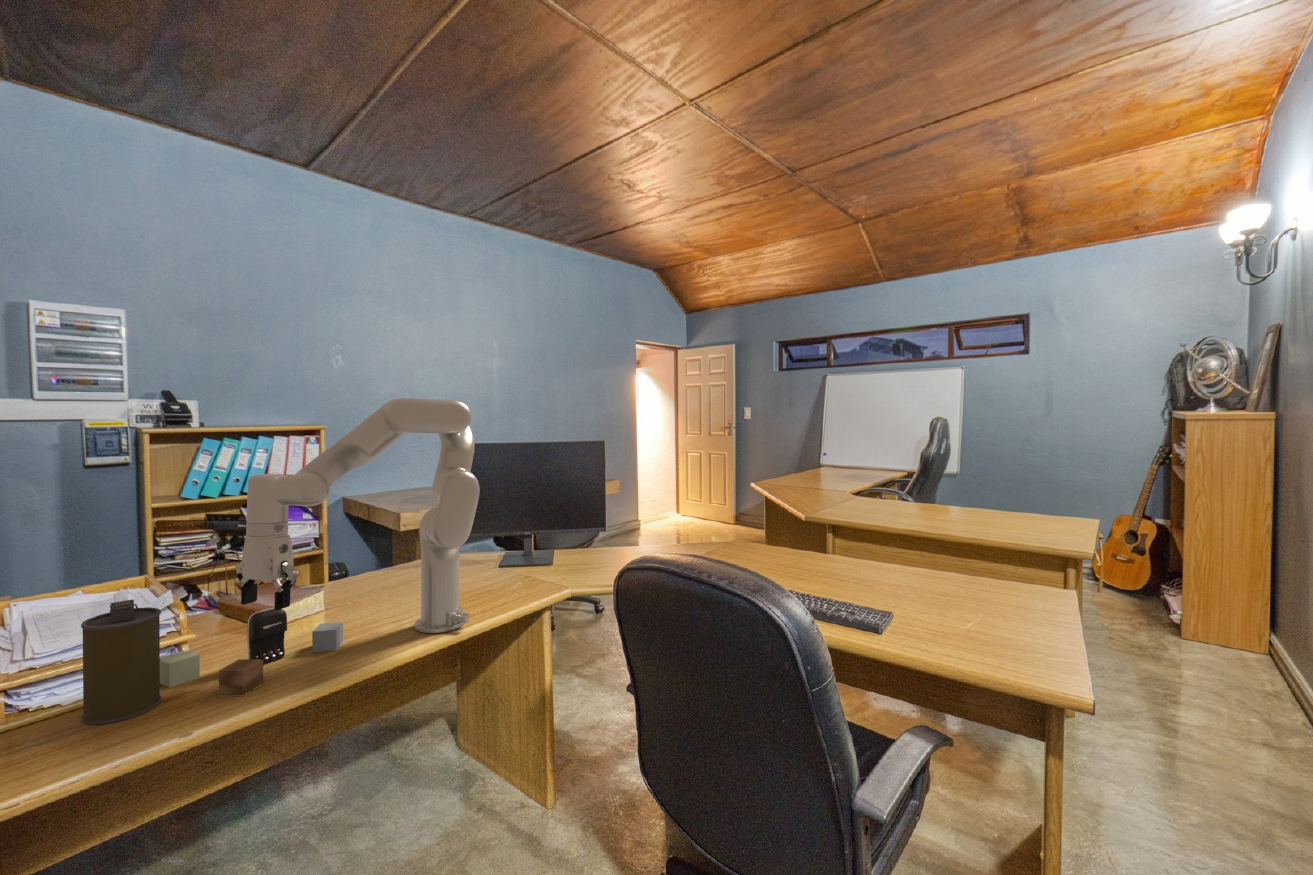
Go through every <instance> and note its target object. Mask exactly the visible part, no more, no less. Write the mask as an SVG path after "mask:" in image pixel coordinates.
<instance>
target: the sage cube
mask: <svg viewBox="0 0 1313 875" xmlns="http://www.w3.org/2000/svg"><path fill="white" fill-rule="evenodd" d="M187 650H188V652H187V651H186V652H184V650H181V651H179V652H178V651H177V652H174V653H171V654H167V655H165V656H162V657H160V685H162V686H165V687H167V688H169V689H171V688H173V687H176V686H178V685H179V686H180V685H181V684H182V685H183V684H185V683H188V682H191V681H194V680H196V679H199V678H201V677H200V675H201V674H200V672H201V671H200V668H201V667H200V665H201V664H200V661H201V660H200V653H197V652H195V651H192V650H190V649H187Z"/></svg>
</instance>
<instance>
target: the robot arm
mask: <svg viewBox="0 0 1313 875" xmlns="http://www.w3.org/2000/svg"><path fill="white" fill-rule="evenodd" d="M472 416H473V415H472V412H471V410H470V408H469V406H468V405H466V404H465V403H464V402H463V401H459V400H455V399H428V398H427V399H426V398H414V397H413V398H412V397H401V398H399V397H398V398H393V399H391V400H389V401H387V402H385V404H383V405H382V406H381V407H379V408H378V409H377V410H376V411H374V412H373V413H372V414H370V415H369V416H368V417H367V418H366V419H364V420H363V421H362V422H360V423H359V424H358V425H357V426H355V427H354V428H353V429H351V430H350V431H349V432H347V433H346V434H345V435H343V436H342V437H341V438H340V439H338V440H337V441H336V442H334V444H332V445H331V446H330V447H327V449H325V450H324V451H322V453H320V454H319V455H317V456H316V457H315V458H313V459H312V460H311V461H309V462H308V463H307V464H306V465H305V466H303V467H302V468H301V469H299V470H298V471H297V472H296V473H295V474H294V475H286V474H282V473H258V474H254V475H251V476H250V477H249V479H248V480H247V493H246V494H247V495H246V501H247V502H246V525H245V526H246V528H245V529H246V534H245V538H244V539H245V540H244V544H243V549H242V558H241V561H240V562H238V563H237V564H234V570H235V571H236V574H237V575H236V577H237V579H238V581H239V587H241V590H240V592H241V593H240V595H241V596H240V604H241V605H244V606H245V605H248V604H251V603H255V602H257V601H258V583H256V582H263V583H272V584H273V585H274V588H275V589H276V591H275V592H274V607H273V608H274V609H275V610H280V609H282V610H284V609H285V608H288V607H289V608H290V606H291V590H292V589H293V588H294V585H295V584H296V583H297V579H298V577H299V575H300V572H299V570H297V569H296V568H295V567H294V550H293V543H292V539H291V535H290V534H289V508H290V507H289V506H297V507H315V506H318V505H320V504H322V503H323V502H325V500H327V499H328V497H329V496H330V492H331V488H330V487H331V486H332V485H334V484H335V483H336V482H337V481H338V480H340V479H342V477H345V475H347V474H348V473H350V472H351V471H353V470H354V469H357V468H359V467H362V466H364V465H367V464H369V463H370V462H372V461H374V459H376V458H377V457H379V456H380V455H381V454H382V453H383V452H385V451H386V449H388V448H389V447H390V446H391V445H392V444H394V443H395V442H396V441H397V440H399V439H400V438H402V436H404V435H405V434H406V433H413V434H415V433H416V434H437V435H438V436H439V439H440V443H441V444H440V452H439V458H438V462H437V465H436V470H435V474H434V477H433V482H432V493H433V495H434V496H435V497H436V499H437V500H439V501H438V502H439V503H438V505H437V506H435V507H432V508H430V509H428V510H427V511H426V512H425V513H424V514H423V516H422V517H421V519H420V522H419V527H418V528H419V530H418V531H419V533H418V534H419V540H420V556H421V562H420V564H421V565H420V567H421V568H420V618H418V619H417V620H416V621H415V622H414V624H413V625H414V630H416V631H417V632H420V633H422V634H424V633H425V634H439V633H447V632H451V631H454V630H457V629H458V628H460V627H462V626H464V624H468V623H469V622H470V618H471V615H472V614H471V613H470V612H464V611H463V610H464V608H463V606H462V605H460V564H461V562H460V561H461V560H460V559H461V558H460V557H461V556H460V547H461V546H463V545H464V544H465V543H466V541H467V540H468V538H469V537H470V535H471V532H472V530H473V529H472V528H473V524H474V520H475V516H476V512H477V507H478V504H479V499H480V493H481V492H480V491H481V490H480V484H479V483H480V482H479V481H478V479H477V477H476V476H475V474H473V472H471V471H472V466H473V461H474V460H473V459H474V454H475V444H476V442H475V437H474V433H473V431H472V428H471V426H470V425H471V423H472V418H473V417H472ZM281 582H283V583H281Z"/></svg>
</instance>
